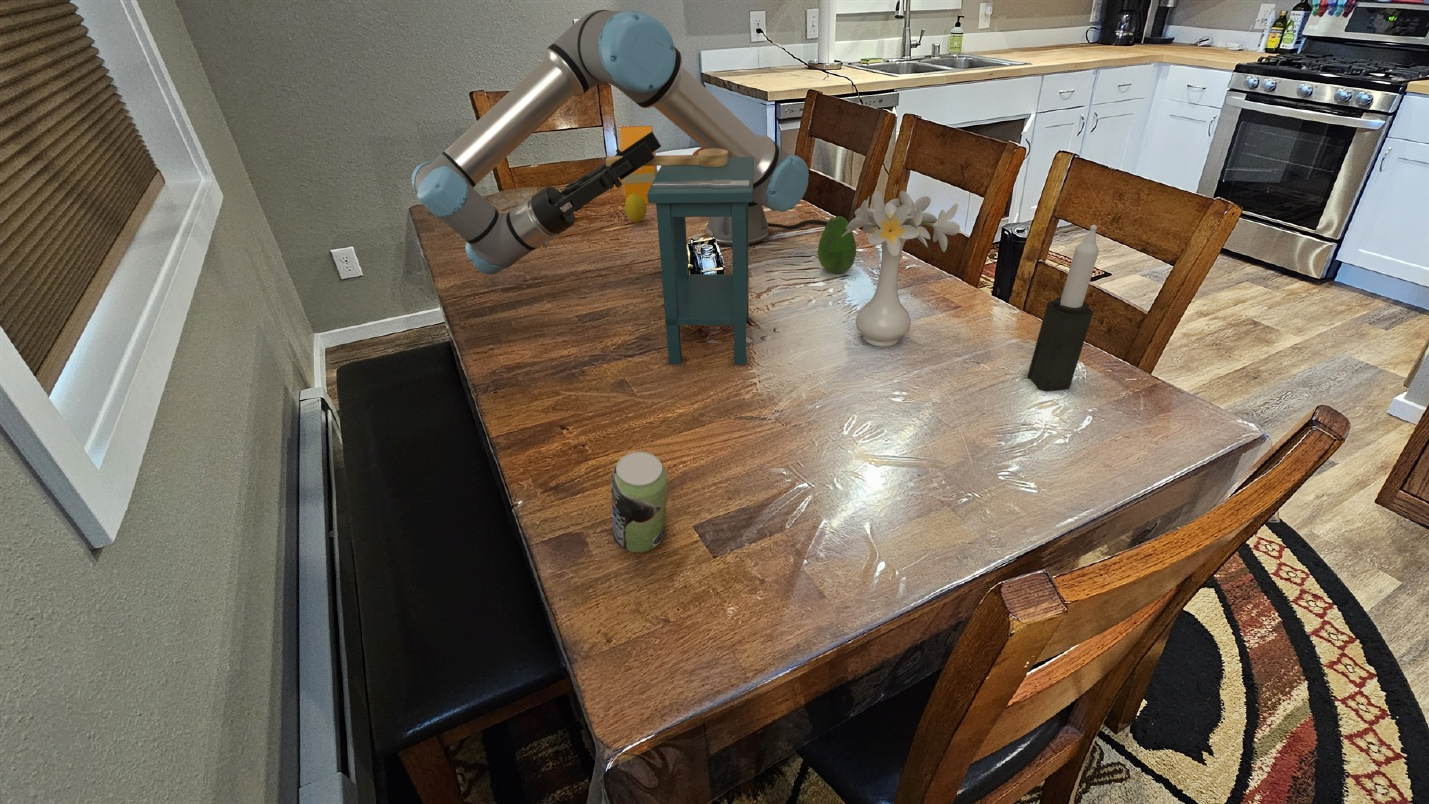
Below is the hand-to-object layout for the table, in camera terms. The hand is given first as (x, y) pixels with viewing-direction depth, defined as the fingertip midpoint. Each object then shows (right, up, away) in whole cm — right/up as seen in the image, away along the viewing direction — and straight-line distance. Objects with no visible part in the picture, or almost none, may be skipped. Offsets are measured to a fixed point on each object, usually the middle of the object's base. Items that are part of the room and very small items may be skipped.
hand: (652, 144), depth 106 cm
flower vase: (+40, -30, +11) cm, 51 cm away
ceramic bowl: (-42, +9, +74) cm, 86 cm away
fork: (+8, -10, -10) cm, 16 cm away
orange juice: (-11, +16, +83) cm, 85 cm away
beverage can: (+2, -58, -28) cm, 64 cm away
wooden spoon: (+2, -3, +2) cm, 4 cm away
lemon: (-10, +5, +66) cm, 67 cm away
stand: (+9, -30, +12) cm, 34 cm away
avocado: (+36, -14, +36) cm, 52 cm away
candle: (+62, -38, -3) cm, 73 cm away
